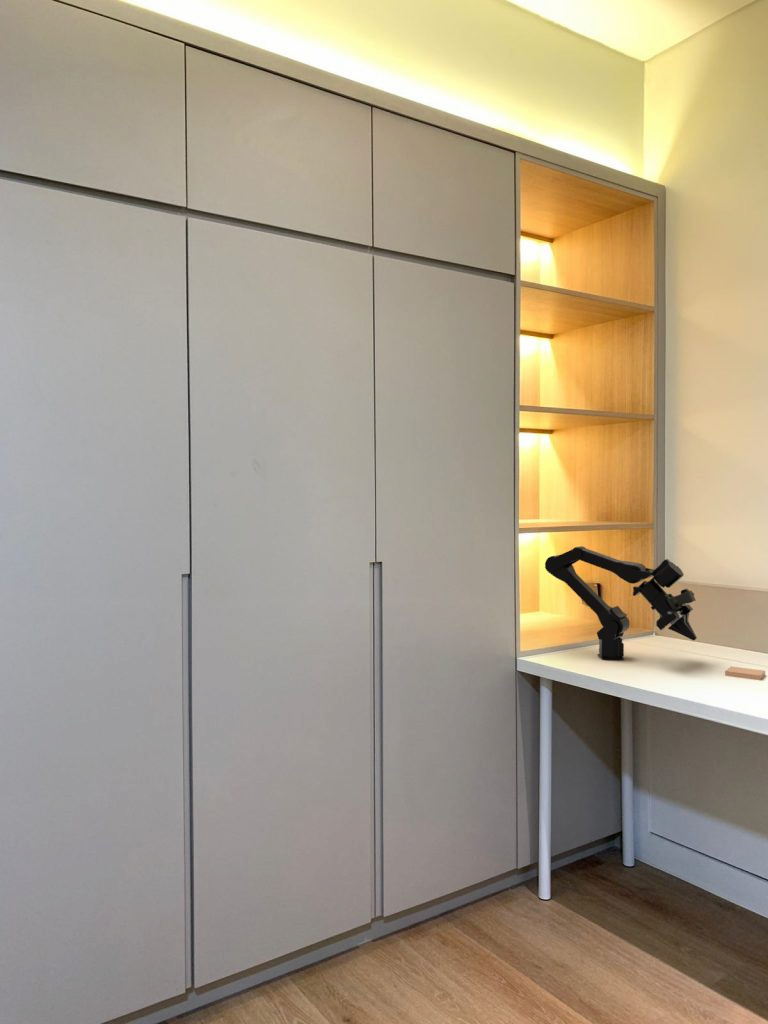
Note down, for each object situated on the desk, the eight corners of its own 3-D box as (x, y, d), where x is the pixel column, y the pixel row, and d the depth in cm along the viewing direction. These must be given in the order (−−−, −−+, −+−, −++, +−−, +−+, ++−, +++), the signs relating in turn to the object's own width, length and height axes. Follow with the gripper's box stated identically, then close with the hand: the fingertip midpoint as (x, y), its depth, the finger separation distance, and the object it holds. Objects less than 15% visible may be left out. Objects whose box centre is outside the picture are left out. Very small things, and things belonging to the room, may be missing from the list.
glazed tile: (725, 670, 216) (760, 675, 211) (730, 666, 222) (765, 670, 217) (725, 676, 217) (760, 681, 211) (730, 672, 222) (765, 676, 217)
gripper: (668, 583, 219) (708, 627, 213) (686, 577, 234) (724, 617, 228) (640, 608, 224) (678, 651, 218) (659, 600, 239) (695, 640, 233)
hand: (695, 639), depth 224 cm, fingers closed
